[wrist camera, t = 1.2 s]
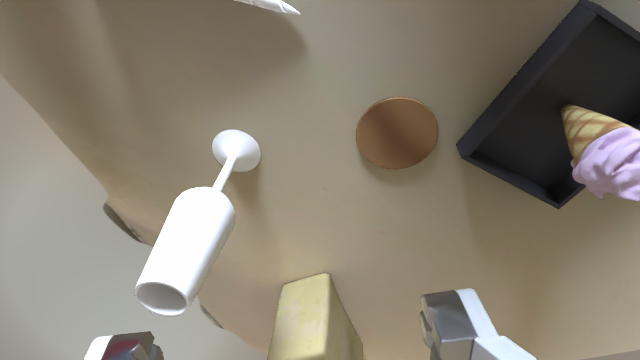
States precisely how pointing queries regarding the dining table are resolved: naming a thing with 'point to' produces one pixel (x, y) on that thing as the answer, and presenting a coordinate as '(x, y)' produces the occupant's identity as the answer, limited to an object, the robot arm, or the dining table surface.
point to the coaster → (396, 133)
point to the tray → (558, 103)
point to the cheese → (313, 324)
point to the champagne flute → (194, 232)
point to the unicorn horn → (272, 5)
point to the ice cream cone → (603, 152)
